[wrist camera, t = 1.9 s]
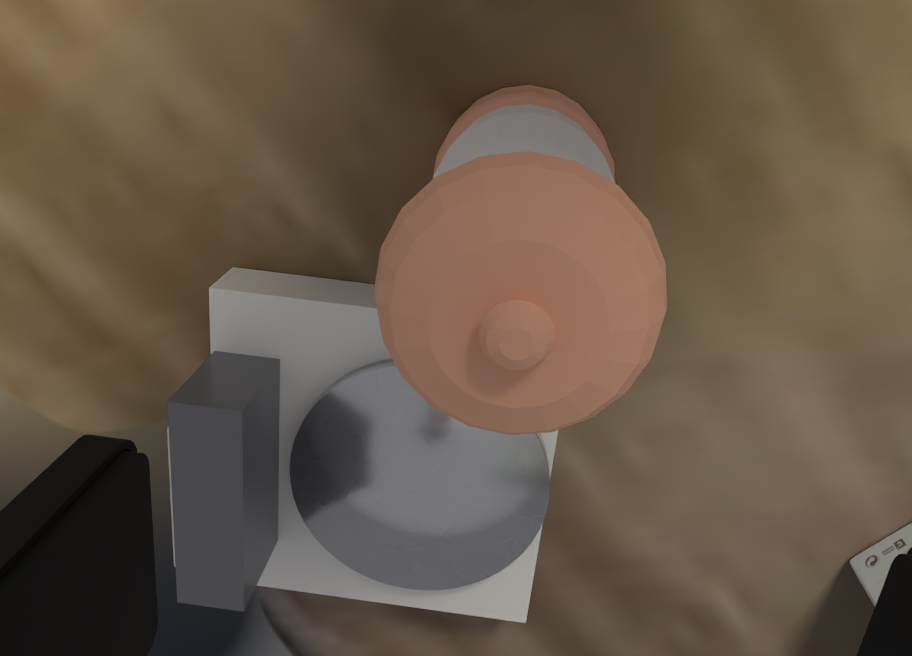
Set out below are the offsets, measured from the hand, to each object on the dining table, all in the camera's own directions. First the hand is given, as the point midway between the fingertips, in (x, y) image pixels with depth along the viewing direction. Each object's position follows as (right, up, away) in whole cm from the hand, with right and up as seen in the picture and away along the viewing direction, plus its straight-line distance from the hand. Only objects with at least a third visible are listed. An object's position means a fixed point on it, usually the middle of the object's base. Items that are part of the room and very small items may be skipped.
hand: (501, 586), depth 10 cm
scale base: (-4, -2, +30) cm, 30 cm away
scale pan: (-2, -4, +27) cm, 27 cm away
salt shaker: (+2, +10, +24) cm, 27 cm away
